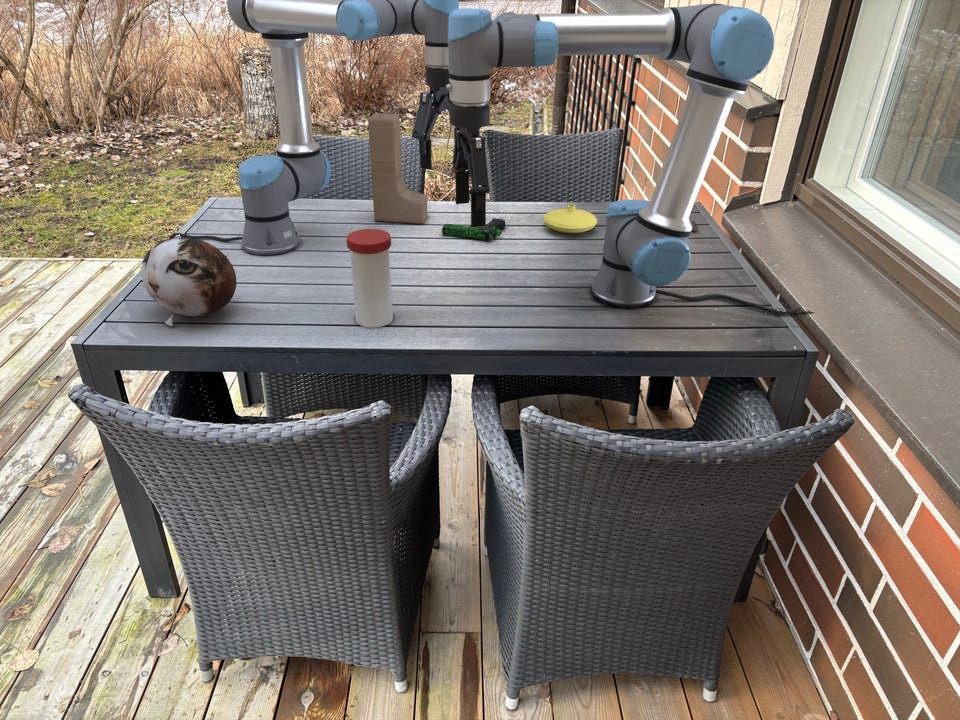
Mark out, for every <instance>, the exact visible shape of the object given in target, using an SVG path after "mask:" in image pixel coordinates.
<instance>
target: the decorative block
mask: <svg viewBox="0 0 960 720" xmlns="http://www.w3.org/2000/svg"><path fill="white" fill-rule="evenodd" d="M367 125H368V128H367V129H368V141H369V156H370V173H371V189H372V190H371V191H372V204H373V219H374V221H376V222H388V223H403V224H418V225H420V224H421V225H422V224H424V222H425V220H426V219H427V217H428V213H429V212H428V196H427V194H425V193H420V192H416V191H412V190H411V189H410V188H408V187H407V185H406V183H405V180H404V178H403V171H402V167H403V166H402V146H401V123H400V115H399V114H398V113H383V112H382V113H381V112H376V113H373V114H372V115H371V116H370V117H368V119H367Z"/></svg>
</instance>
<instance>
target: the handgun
mask: <svg viewBox="0 0 960 720" xmlns="http://www.w3.org/2000/svg"><path fill="white" fill-rule="evenodd" d="M505 228H506V220H505V219H503V218H497V217H492V219H491V220H490V221H489V222H488V223H486V226H477V227H472V226H471V225H459V224H453V223H445V224H443V226H442V227H441V235H446V236H454V237H462V238H469V239H470V238H471V239H474V240H479V241H484V242H491V241H492V240H494V239H495V238H497V237H500V236H502V230H504V229H505Z"/></svg>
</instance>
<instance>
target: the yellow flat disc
mask: <svg viewBox="0 0 960 720" xmlns="http://www.w3.org/2000/svg"><path fill="white" fill-rule="evenodd" d="M543 222H544V225H545V226H546V227H548V228H550V229H551V230H554V231H556V232H559V233H564V234H580V233H584V232H585V233H586V232H587V231H591V230H592V229H594V228H596V226H597V223H598V219H597V217H596V215H595V214H593V213H591V212H589V211H587V210H584V209H578V208H576V205H575V204H571V203H570V204H567V208H557V209H552V210H549V211H548V212H547V213H545V214H544V216H543Z"/></svg>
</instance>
